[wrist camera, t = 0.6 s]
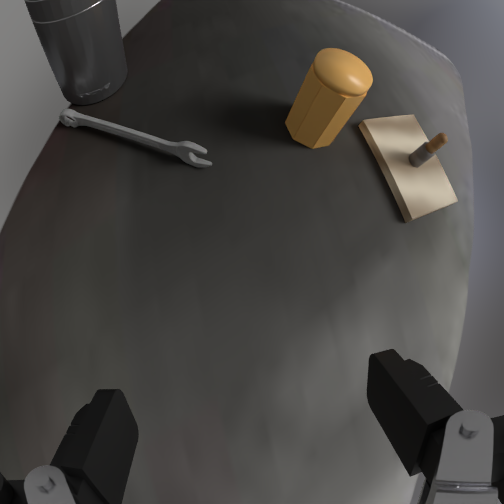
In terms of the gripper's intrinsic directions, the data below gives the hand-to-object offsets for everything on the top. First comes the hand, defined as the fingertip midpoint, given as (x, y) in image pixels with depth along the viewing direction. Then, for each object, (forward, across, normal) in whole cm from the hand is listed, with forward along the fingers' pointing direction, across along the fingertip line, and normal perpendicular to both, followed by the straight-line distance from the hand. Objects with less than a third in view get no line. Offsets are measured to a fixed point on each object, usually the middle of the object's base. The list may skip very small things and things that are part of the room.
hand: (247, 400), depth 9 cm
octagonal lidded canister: (+31, -11, -12) cm, 35 cm away
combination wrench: (+28, +10, -12) cm, 32 cm away
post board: (+30, -24, -6) cm, 39 cm away
